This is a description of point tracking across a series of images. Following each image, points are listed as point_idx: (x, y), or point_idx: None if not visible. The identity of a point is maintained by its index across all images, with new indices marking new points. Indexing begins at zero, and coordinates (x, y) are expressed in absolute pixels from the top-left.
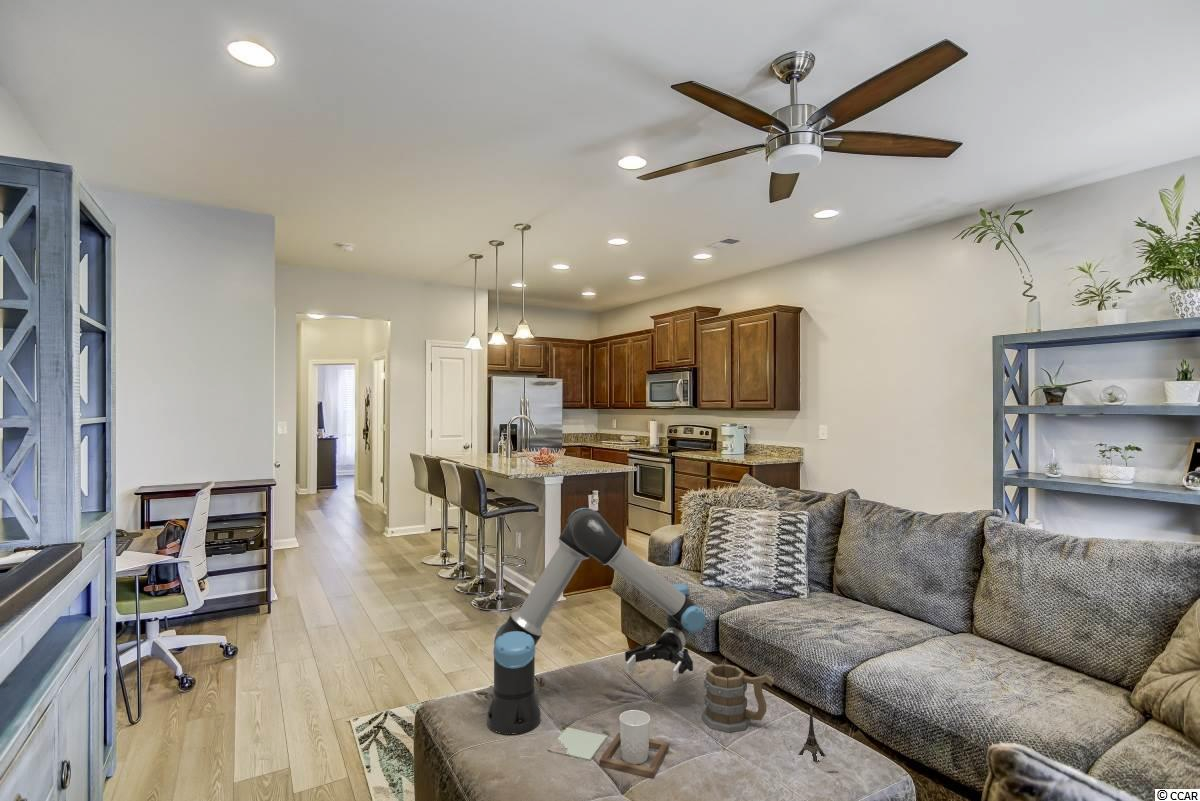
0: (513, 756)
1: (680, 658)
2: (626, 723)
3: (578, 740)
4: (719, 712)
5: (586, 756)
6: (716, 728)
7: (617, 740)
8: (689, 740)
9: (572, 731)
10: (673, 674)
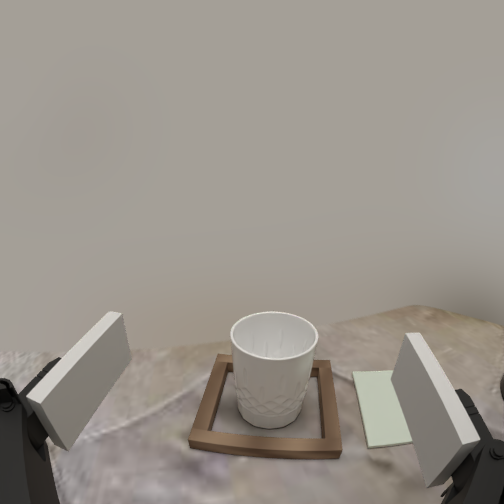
0: (456, 344)
1: (7, 452)
2: (285, 313)
3: None
4: None
5: (363, 376)
6: None
7: (327, 419)
8: (129, 485)
9: None
10: (123, 332)
